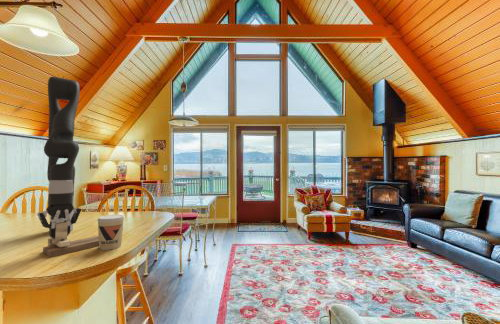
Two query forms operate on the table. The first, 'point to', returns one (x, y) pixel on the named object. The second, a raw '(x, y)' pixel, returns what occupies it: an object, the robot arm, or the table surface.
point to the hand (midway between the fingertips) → (59, 236)
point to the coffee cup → (110, 231)
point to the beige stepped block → (60, 235)
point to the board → (71, 246)
